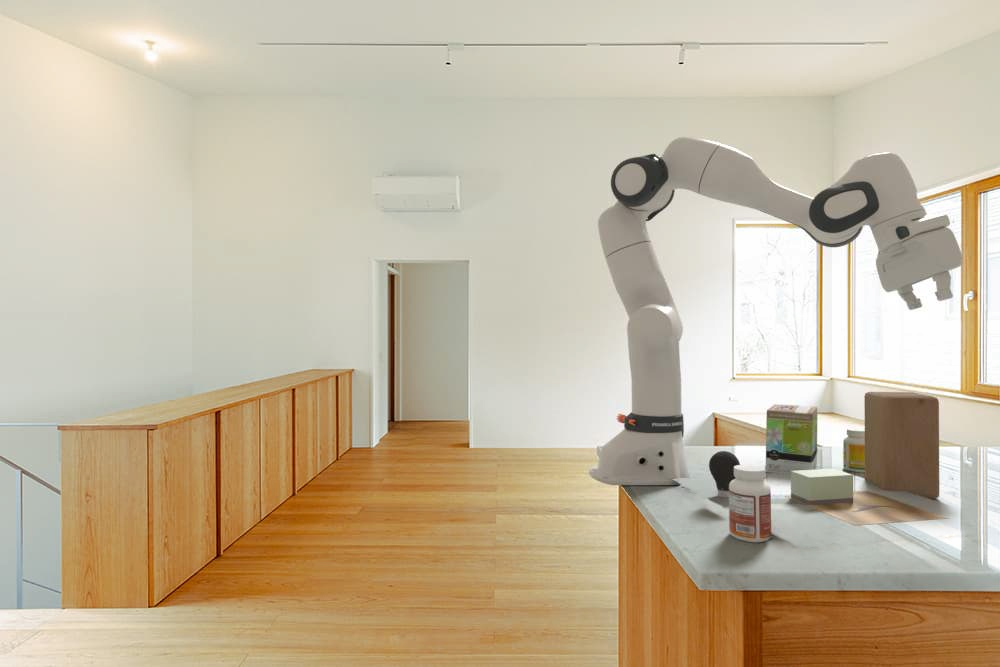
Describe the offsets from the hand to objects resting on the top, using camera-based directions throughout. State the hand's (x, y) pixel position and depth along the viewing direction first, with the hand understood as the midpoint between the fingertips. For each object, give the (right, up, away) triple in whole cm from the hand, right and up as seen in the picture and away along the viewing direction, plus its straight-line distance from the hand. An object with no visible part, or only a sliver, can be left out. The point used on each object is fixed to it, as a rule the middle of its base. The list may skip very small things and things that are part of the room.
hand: (930, 304), depth 106 cm
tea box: (-9, -38, +32) cm, 50 cm away
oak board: (-14, -38, -3) cm, 40 cm away
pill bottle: (-39, -38, -13) cm, 56 cm away
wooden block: (+2, -38, +11) cm, 40 cm away
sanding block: (-19, -36, +1) cm, 41 cm away
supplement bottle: (+5, -38, +30) cm, 49 cm away
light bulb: (-36, -38, +5) cm, 53 cm away
